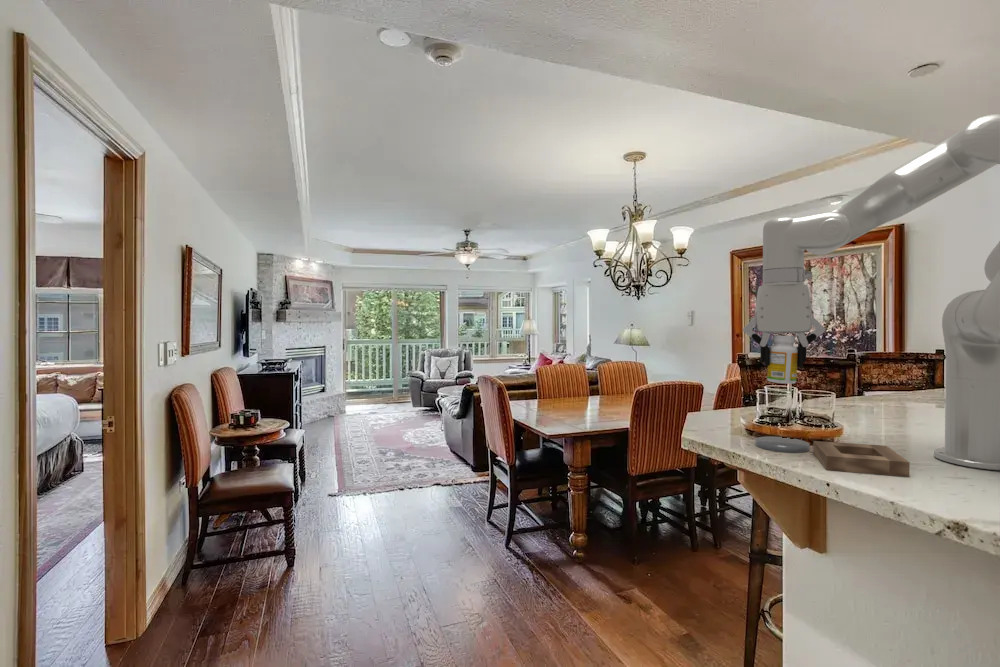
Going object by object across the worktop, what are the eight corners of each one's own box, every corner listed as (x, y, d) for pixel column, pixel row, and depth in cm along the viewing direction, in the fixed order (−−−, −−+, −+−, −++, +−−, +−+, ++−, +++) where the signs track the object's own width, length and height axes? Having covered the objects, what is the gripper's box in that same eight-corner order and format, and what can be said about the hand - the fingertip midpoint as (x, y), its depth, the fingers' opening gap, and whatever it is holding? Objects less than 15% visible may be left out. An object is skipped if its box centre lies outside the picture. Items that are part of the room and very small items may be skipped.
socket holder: (885, 458, 98) (886, 445, 98) (909, 476, 87) (909, 462, 87) (813, 453, 102) (813, 440, 102) (826, 470, 91) (826, 455, 91)
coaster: (804, 443, 111) (804, 438, 111) (814, 454, 101) (814, 449, 101) (753, 439, 114) (753, 435, 114) (757, 450, 105) (757, 445, 105)
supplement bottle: (788, 381, 110) (791, 335, 110) (801, 384, 105) (804, 336, 104) (762, 379, 110) (765, 334, 110) (773, 383, 105) (776, 335, 105)
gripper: (827, 278, 107) (826, 365, 108) (736, 281, 114) (736, 363, 114) (835, 275, 100) (835, 368, 101) (738, 279, 107) (738, 366, 107)
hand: (782, 364), depth 107 cm, fingers closed on supplement bottle, 5 cm apart
